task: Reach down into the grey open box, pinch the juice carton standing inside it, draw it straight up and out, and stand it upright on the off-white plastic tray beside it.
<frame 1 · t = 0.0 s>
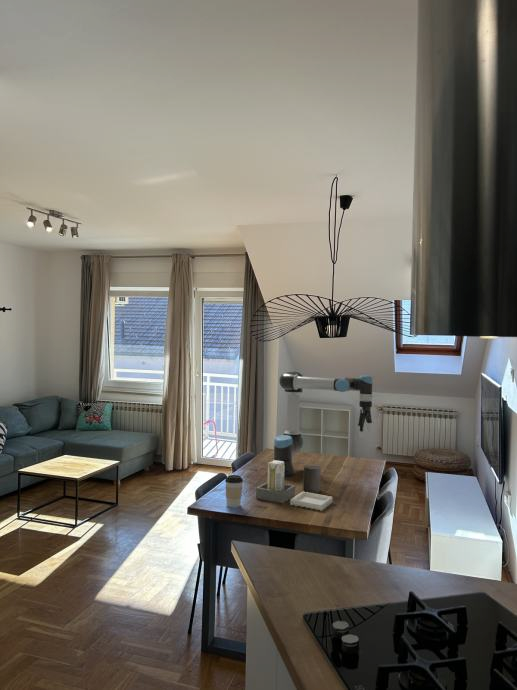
hand: (364, 435, 302), 28 cm above the table, tool pointing down, fingers open, 13 cm apart
tray: (311, 503, 255), on the table
juice carton: (275, 497, 265), resting in grey open box
grey open box: (275, 496, 265), on the table
coffee cup: (233, 505, 250), on the table
pillar candle: (311, 490, 279), on the table
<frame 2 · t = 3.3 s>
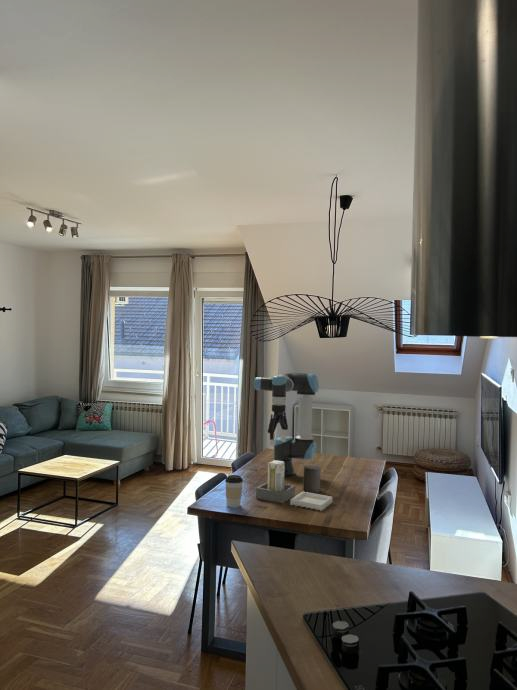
hand: (277, 443, 265), 29 cm above the table, tool pointing down, fingers open, 13 cm apart
nothing on the table moved.
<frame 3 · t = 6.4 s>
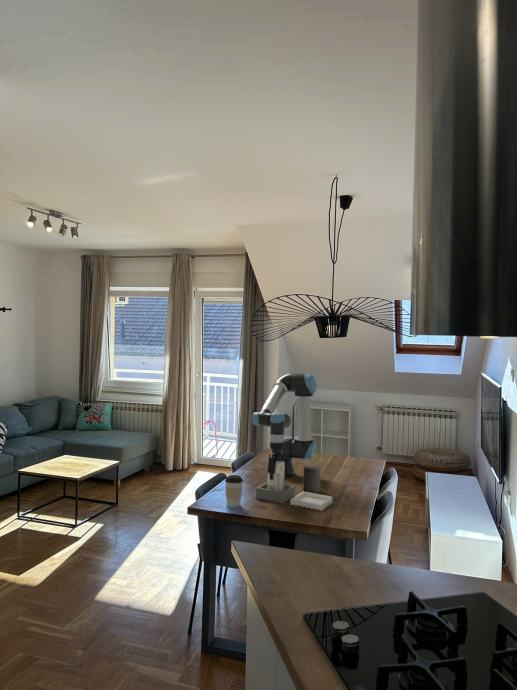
hand: (275, 483, 265), 7 cm above the table, tool pointing down, fingers closed on juice carton, 9 cm apart
juice carton: (275, 497, 265), resting in grey open box, touching gripper
everything else where it was.
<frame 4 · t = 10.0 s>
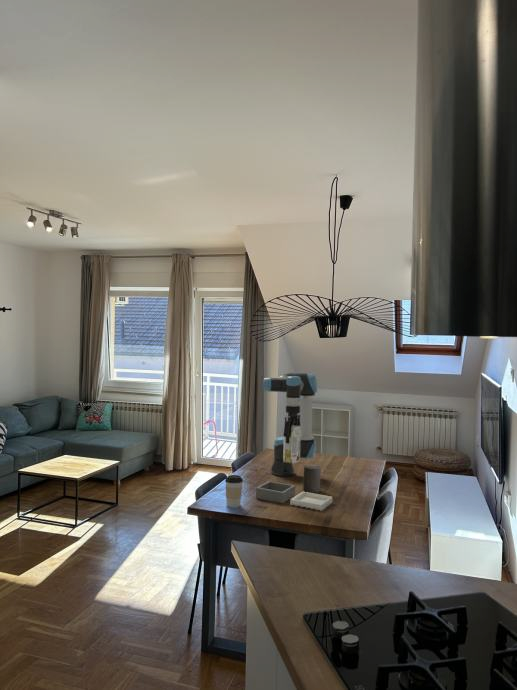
hand: (291, 447, 260), 28 cm above the table, tool pointing down, fingers closed on juice carton, 8 cm apart
juice carton: (291, 462, 260), point 20 cm above the table, touching gripper
everything else where it was.
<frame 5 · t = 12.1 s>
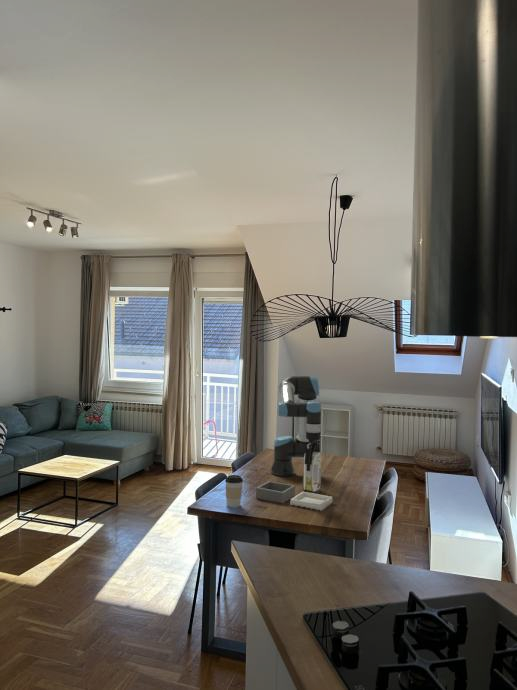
hand: (312, 474, 255), 15 cm above the table, tool pointing down, fingers closed on juice carton, 8 cm apart
juice carton: (311, 489, 255), point 7 cm above the table, touching gripper
everything else where it was.
when the fingers open (10 cm above the table, at t = 13.7 s): juice carton drops 1 cm, resting on tray.
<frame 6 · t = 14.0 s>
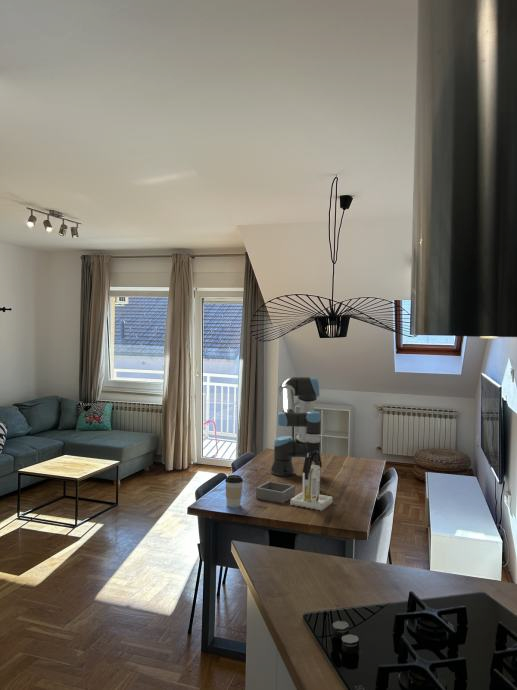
hand: (312, 482, 255), 11 cm above the table, tool pointing down, fingers open, 13 cm apart
juice carton: (310, 502, 254), point 1 cm above the table, touching tray
everything else where it was.
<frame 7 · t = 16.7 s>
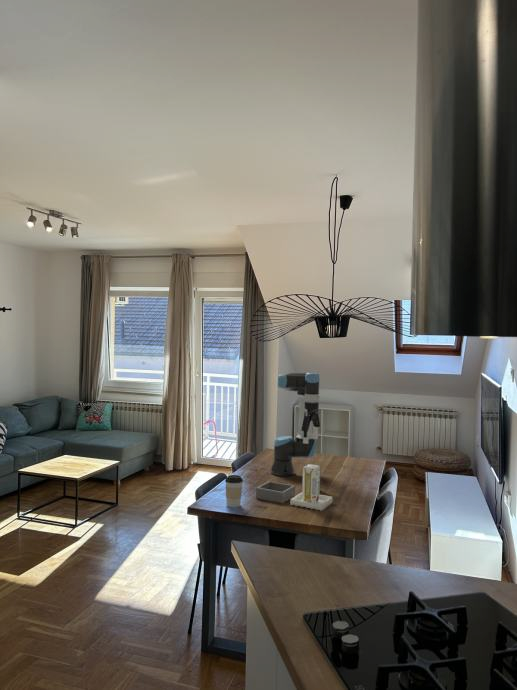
hand: (310, 441, 263), 31 cm above the table, tool pointing down, fingers open, 13 cm apart
nothing on the table moved.
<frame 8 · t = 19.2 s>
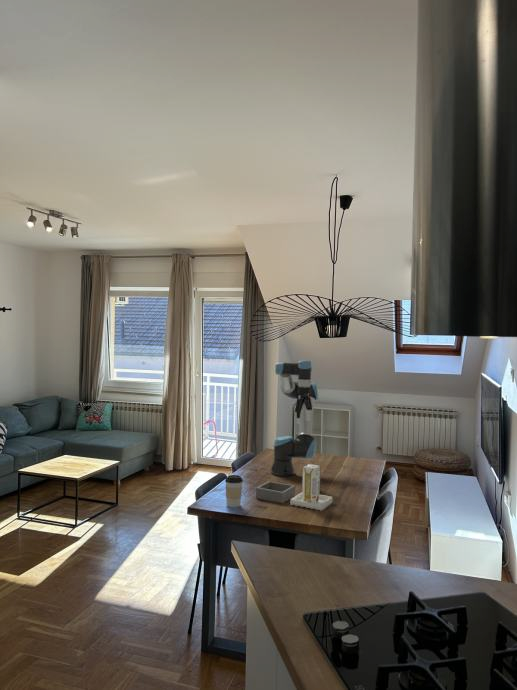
hand: (303, 422, 291), 37 cm above the table, tool pointing down, fingers open, 13 cm apart
nothing on the table moved.
at the end: juice carton inside the target area on the tray (1.3 cm from its centre), point 0.8 cm above the tray's base; juice carton tilted 0°; the gripper is holding nothing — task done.
